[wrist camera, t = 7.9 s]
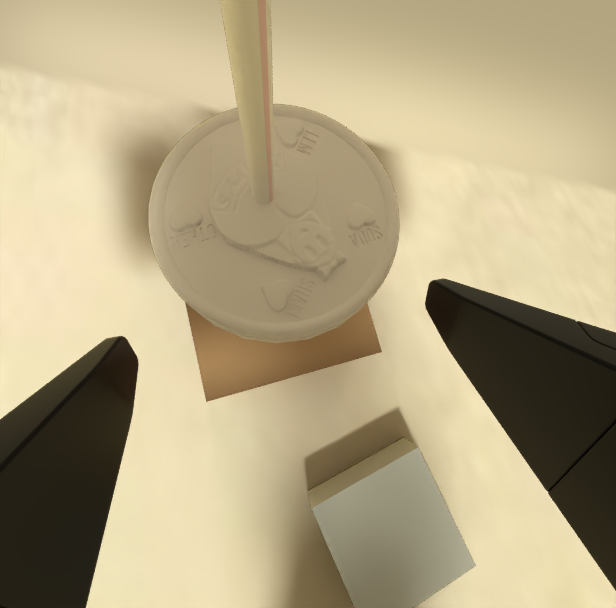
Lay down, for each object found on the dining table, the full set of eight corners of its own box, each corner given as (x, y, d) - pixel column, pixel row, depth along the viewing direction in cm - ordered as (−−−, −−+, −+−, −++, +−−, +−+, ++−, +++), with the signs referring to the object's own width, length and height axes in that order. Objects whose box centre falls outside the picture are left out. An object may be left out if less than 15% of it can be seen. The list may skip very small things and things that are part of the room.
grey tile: (454, 542, 18) (476, 565, 16) (357, 605, 17) (367, 638, 15) (404, 437, 19) (418, 447, 17) (307, 491, 18) (311, 508, 16)
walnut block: (366, 351, 20) (381, 351, 17) (217, 393, 18) (206, 401, 15) (326, 216, 21) (334, 194, 18) (185, 245, 20) (169, 227, 17)
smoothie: (280, 217, 17) (286, -283, 4) (356, 293, 17) (669, 56, 3) (197, 289, 16) (-245, -52, 3) (277, 372, 16) (271, 497, 2)
